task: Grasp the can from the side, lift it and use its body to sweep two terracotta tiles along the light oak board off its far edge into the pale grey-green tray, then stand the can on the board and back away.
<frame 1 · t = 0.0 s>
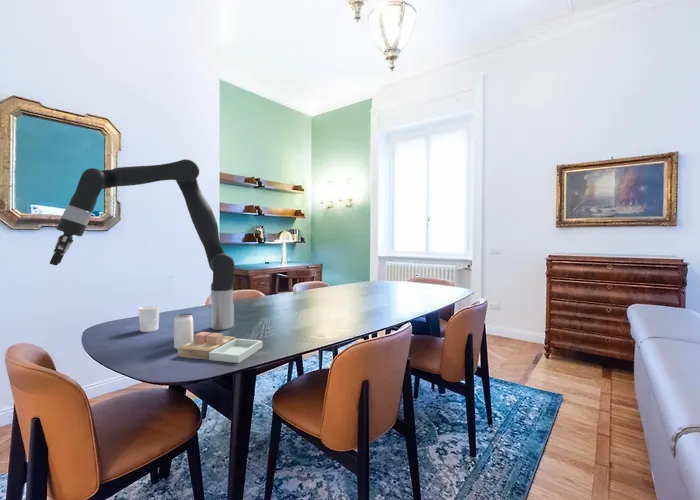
hand: (54, 263, 118), 31 cm above the table, tool tilted 20°, fingers open, 8 cm apart
tray: (237, 353, 121), on the table
tile a: (203, 341, 124), point 3 cm above the table, touching board
can: (183, 347, 127), on the table
tile b: (215, 342, 123), point 3 cm above the table, touching board
board: (207, 350, 123), on the table
white cup: (149, 330, 149), on the table
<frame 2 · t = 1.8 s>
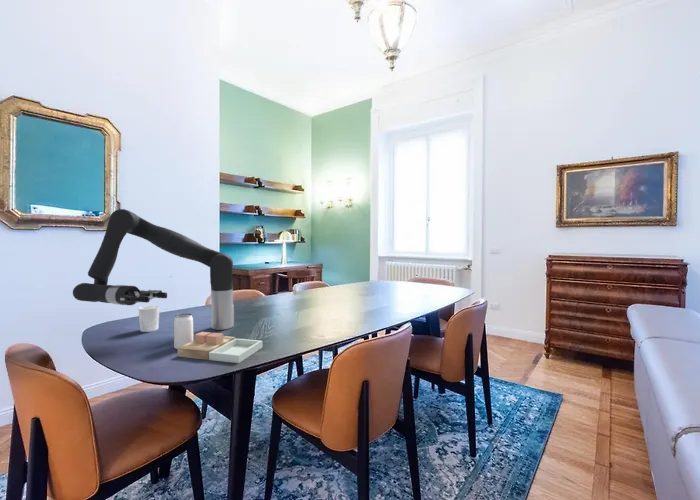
hand: (158, 297, 129), 18 cm above the table, tool horizontal, fingers open, 8 cm apart
nothing on the table moved.
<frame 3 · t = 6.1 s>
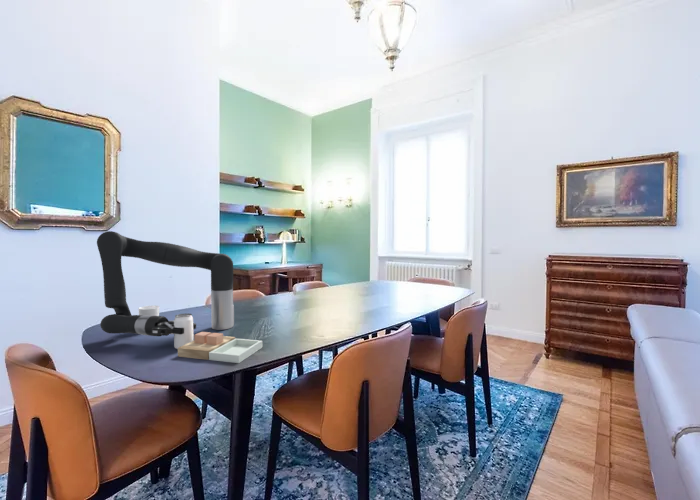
hand: (189, 328, 126), 7 cm above the table, tool horizontal, fingers closed on can, 6 cm apart
can: (184, 347, 127), on the table, touching gripper
everything else where it was.
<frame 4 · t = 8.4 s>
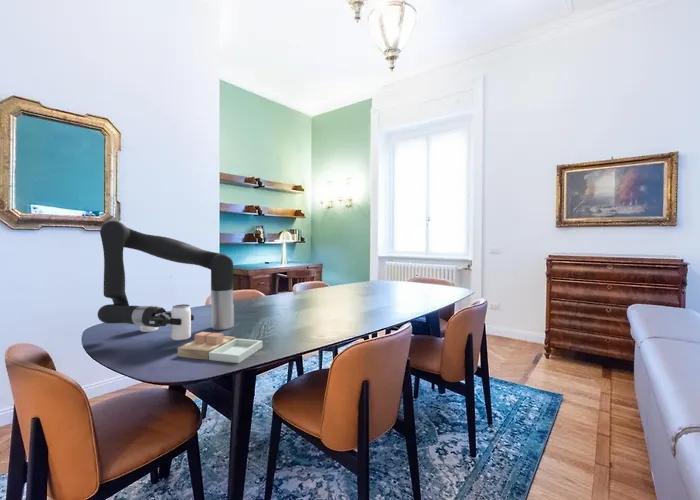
hand: (187, 319, 125), 11 cm above the table, tool horizontal, fingers closed on can, 6 cm apart
can: (181, 338, 126), point 3 cm above the table, touching gripper
everything else where it was.
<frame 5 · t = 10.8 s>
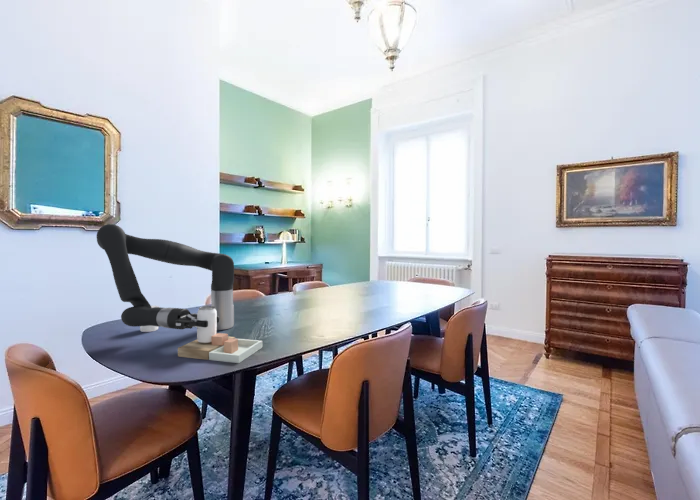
hand: (213, 321, 122), 11 cm above the table, tool horizontal, fingers closed on can, 6 cm apart
tile a: (219, 343, 122), point 3 cm above the table
can: (206, 341, 123), point 4 cm above the table, touching gripper
tile b: (227, 345, 122), point 2 cm above the table, tilted 90°, touching tray
everything else where it was.
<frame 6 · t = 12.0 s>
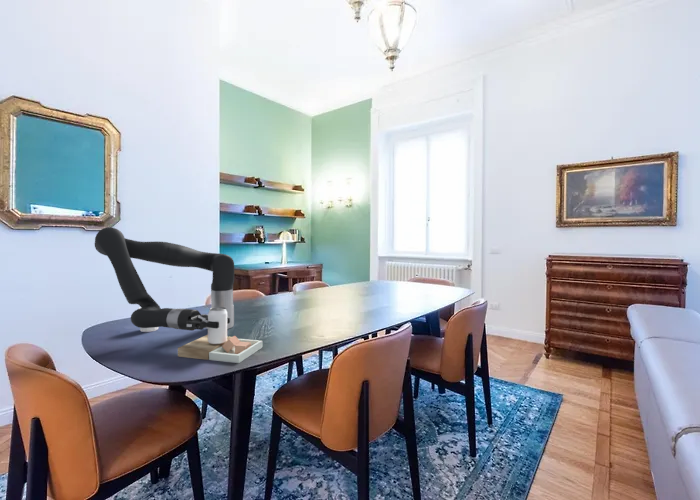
hand: (223, 322, 121), 11 cm above the table, tool horizontal, fingers closed on can, 6 cm apart
tile a: (234, 347, 121), point 2 cm above the table, tilted 45°, touching tile b, tray
can: (217, 342, 122), point 3 cm above the table, touching gripper
tile b: (242, 343, 120), point 3 cm above the table, tilted 180°, touching tile a, tray
everything else where it was.
when the fingers open (11 cm above the table, at t = 13.8 s): can stays where it is, resting on board.
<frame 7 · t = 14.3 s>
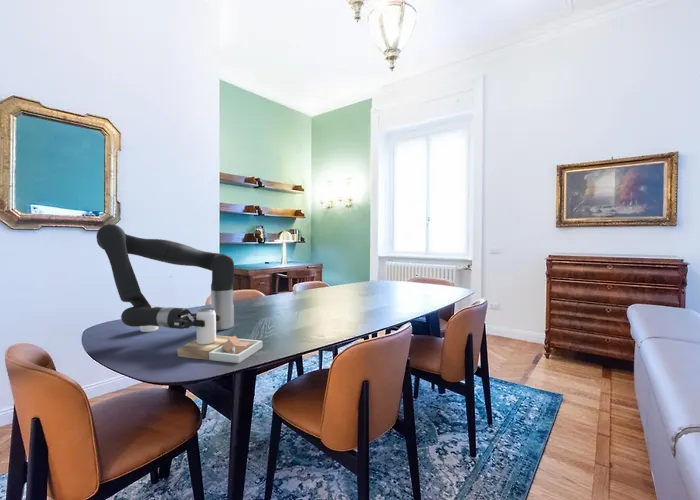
hand: (212, 320, 122), 11 cm above the table, tool horizontal, fingers open, 8 cm apart
can: (206, 342, 123), point 3 cm above the table, touching board
everything else where it was.
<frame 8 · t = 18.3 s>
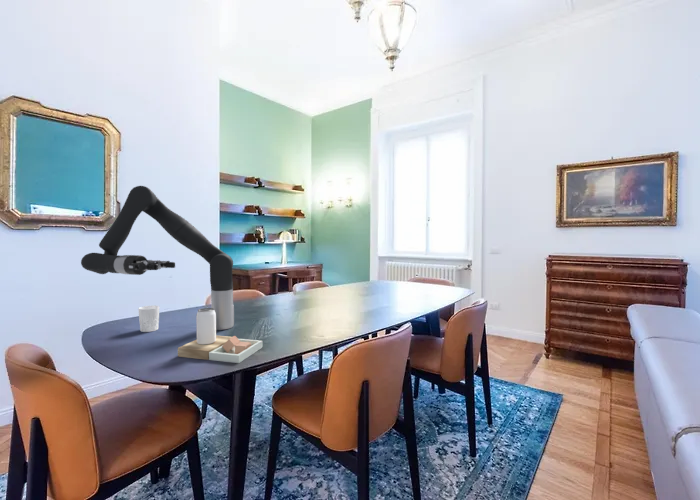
hand: (166, 266, 128), 30 cm above the table, tool horizontal, fingers open, 8 cm apart
nothing on the table moved.
at the end: tile a inside the target area (1.6 cm from its centre), point 2.1 cm above the table; tile b inside the target area (1.8 cm from its centre), point 3.4 cm above the table; can inside the target area (0.4 cm from its centre), point 2.8 cm above the table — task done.
